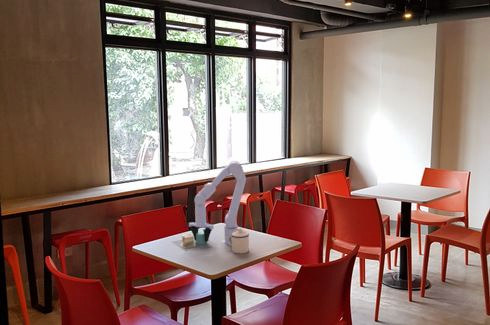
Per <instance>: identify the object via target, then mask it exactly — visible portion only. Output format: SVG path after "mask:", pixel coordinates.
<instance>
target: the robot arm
mask: <svg viewBox="0 0 490 325" xmlns="http://www.w3.org/2000/svg"><path fill="white" fill-rule="evenodd" d="M231 175H232V176H233V177H234V178H235V180H236V183H235V187H234V191H233V194H232V198H231V202H230V204H229V205H230V206H229V210H228V212H227V213H226V214H225V217H224V225H223V226H224V228H223V229H224V240H221V242H222V243H225V244H226V245H228V246H232V245H231V244H230V242H229V236H231V234H232V233H233V232H236V231H237V230H238V229H239V225H238V223H237V216H238V211H239V208H240V204H241V201H242V200H241V199H242V196H243V192H244V188H245V185H246V183H247V182H246V181H247V178H246V174H245V172H244V169H243V166H242V165H241V164H240V163H239V161H237V160H232V161H231V162H229V164H227V165H226V166H225V167H224V168H223V169H222V170H221V171H220V172H219V173H218V175H217V176H215V178H214V179H213V180H212V181H211V182H207V183H205V184H204V185H203V188H202V189H201V190H200V191H198V193H197V194H196V195H195V197H194V207H195V208H194V214H195V218H194V219H195V222H191V221H190V222H188V227H189V231H191V234H192V236H193V238H194V239H195V240H196V233H199V228H200V229H203V231H202V232H204V235H205V242H207V241H208V240H209V238H210V237H211V236H210V235H211V233H212V231H213V229H214V224H210V223H208V222H207V207H206V201H207V200H209V198H210V197H211V196H212V195H213V194H214V193H215V192H216V191H217V189H216V187H217V186H218V185H219V184H220V183H221V182H222V181H223V180H224V179H225V178H226V177H230V176H231ZM209 241H210V240H209ZM231 241H232V237H231Z"/></svg>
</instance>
